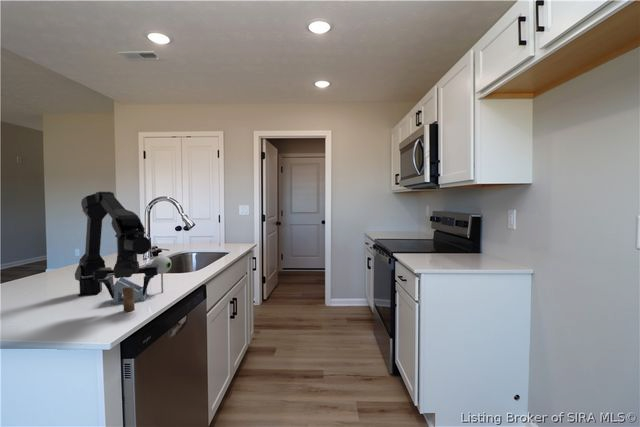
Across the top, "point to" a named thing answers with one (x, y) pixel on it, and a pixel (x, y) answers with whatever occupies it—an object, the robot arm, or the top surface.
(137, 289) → the cradle
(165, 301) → the top surface
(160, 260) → the lollipop
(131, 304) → the peg
